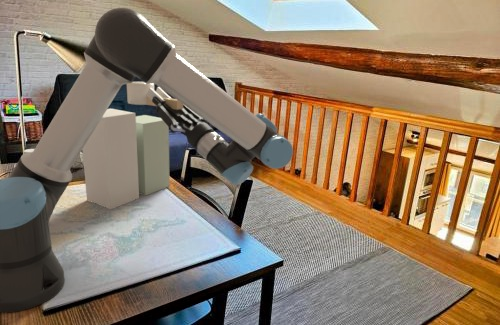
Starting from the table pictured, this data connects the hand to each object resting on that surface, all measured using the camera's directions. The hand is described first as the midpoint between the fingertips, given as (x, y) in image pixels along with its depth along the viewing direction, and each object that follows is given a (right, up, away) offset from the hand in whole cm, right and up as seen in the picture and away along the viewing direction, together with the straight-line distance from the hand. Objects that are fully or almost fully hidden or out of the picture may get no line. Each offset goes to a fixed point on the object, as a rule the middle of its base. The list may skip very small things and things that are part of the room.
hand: (153, 91), depth 107 cm
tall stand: (-18, -34, +17) cm, 42 cm away
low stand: (-10, -30, +30) cm, 44 cm away
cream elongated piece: (0, -4, +1) cm, 4 cm away
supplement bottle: (-51, -29, +27) cm, 65 cm away
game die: (-45, -24, +46) cm, 68 cm away
